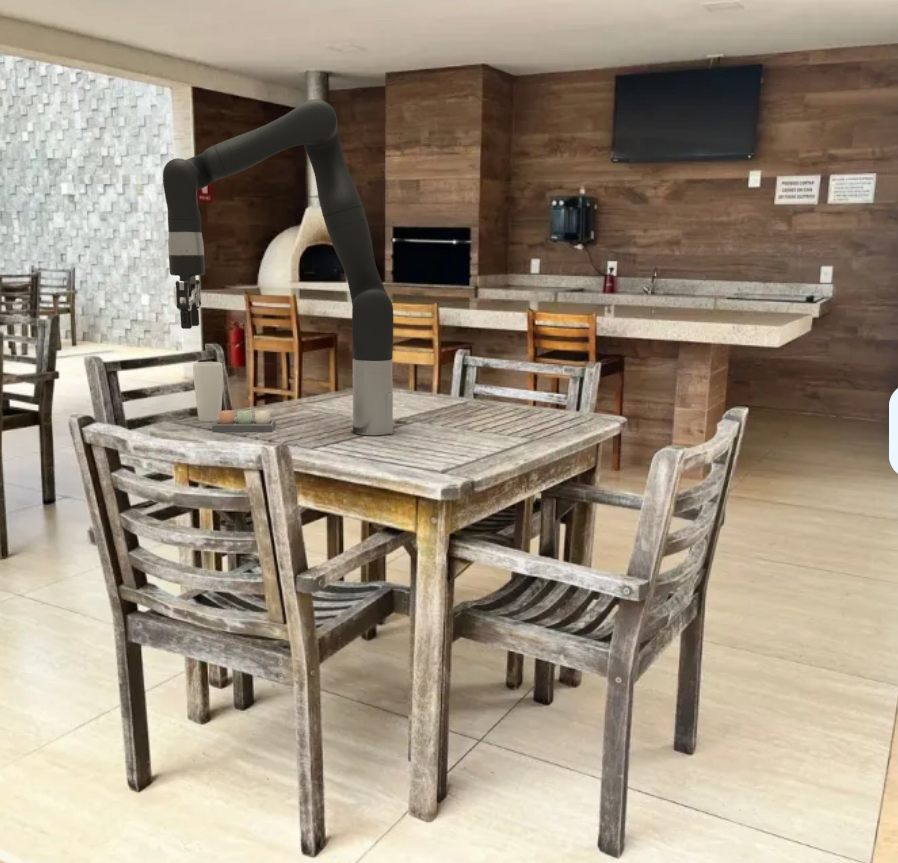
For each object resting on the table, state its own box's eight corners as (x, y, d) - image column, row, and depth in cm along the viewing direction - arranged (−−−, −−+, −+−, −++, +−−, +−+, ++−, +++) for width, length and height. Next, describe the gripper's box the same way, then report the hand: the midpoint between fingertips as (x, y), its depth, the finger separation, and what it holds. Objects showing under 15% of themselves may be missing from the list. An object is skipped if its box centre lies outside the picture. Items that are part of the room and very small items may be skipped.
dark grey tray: (275, 431, 208) (275, 419, 207) (272, 438, 200) (271, 425, 200) (218, 432, 207) (218, 419, 206) (212, 438, 199) (212, 425, 198)
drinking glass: (195, 428, 211) (192, 365, 208) (195, 423, 217) (193, 361, 214) (225, 427, 213) (222, 364, 210) (224, 422, 219) (222, 361, 216)
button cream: (270, 427, 205) (270, 410, 204) (269, 430, 202) (268, 412, 201) (256, 427, 205) (256, 410, 204) (254, 430, 202) (254, 412, 201)
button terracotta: (235, 427, 205) (234, 410, 204) (233, 430, 201) (232, 412, 201) (221, 427, 204) (220, 410, 203) (218, 430, 201) (218, 412, 200)
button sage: (252, 427, 205) (252, 410, 204) (251, 430, 202) (250, 412, 201) (238, 427, 205) (238, 410, 204) (236, 430, 201) (236, 412, 201)
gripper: (197, 253, 190) (201, 329, 194) (209, 253, 204) (213, 324, 207) (161, 253, 190) (166, 329, 193) (176, 253, 204) (180, 325, 207)
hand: (190, 327), depth 200 cm, fingers open, 8 cm apart
